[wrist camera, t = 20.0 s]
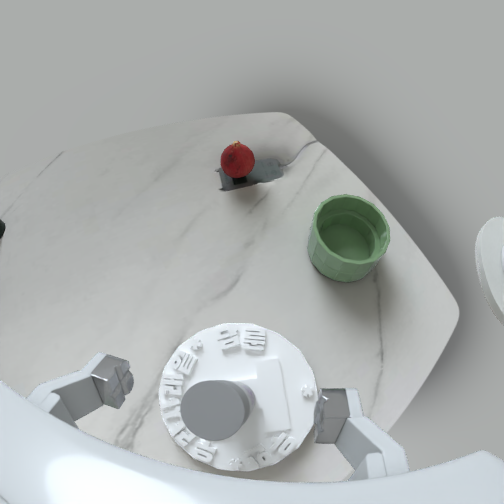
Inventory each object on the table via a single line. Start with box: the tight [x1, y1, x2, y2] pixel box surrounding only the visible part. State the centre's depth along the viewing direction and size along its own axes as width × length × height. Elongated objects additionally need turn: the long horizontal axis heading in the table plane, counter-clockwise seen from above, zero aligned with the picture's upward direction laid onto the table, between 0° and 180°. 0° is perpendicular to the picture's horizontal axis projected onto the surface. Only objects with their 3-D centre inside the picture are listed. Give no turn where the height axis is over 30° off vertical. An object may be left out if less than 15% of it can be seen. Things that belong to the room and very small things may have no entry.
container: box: [180, 380, 256, 441], centre depth 23 cm, size 5×5×15 cm
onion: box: [221, 141, 255, 178], centre depth 46 cm, size 6×6×8 cm
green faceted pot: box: [307, 194, 390, 282], centre depth 38 cm, size 11×11×6 cm
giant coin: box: [159, 323, 318, 472], centre depth 31 cm, size 20×20×3 cm
